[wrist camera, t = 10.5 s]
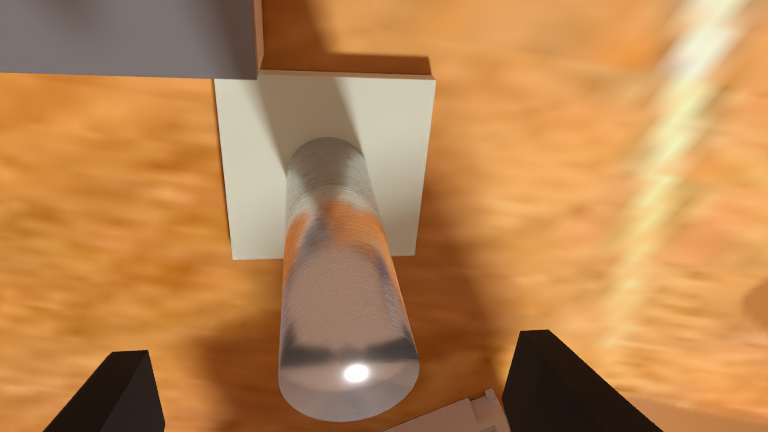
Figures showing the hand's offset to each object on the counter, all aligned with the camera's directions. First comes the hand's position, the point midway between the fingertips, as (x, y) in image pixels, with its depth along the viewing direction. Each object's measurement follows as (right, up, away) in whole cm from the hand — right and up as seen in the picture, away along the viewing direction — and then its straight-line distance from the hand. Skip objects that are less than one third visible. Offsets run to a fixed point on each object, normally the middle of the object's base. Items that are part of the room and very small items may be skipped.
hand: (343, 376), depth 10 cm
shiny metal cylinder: (-1, +5, +8) cm, 9 cm away
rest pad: (-1, +5, +8) cm, 10 cm away
